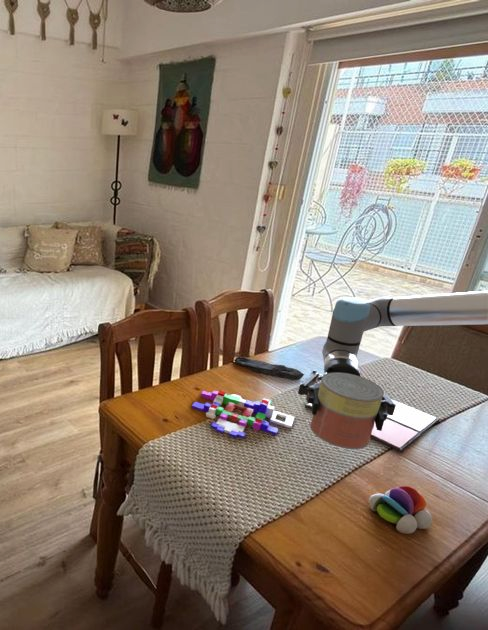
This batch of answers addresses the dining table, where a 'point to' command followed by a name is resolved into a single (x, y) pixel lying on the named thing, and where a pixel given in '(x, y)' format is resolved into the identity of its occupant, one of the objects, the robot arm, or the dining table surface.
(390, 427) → the board
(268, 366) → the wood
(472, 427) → the dining table surface
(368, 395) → the canned food
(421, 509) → the rainbow cloud toy
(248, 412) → the building block set
